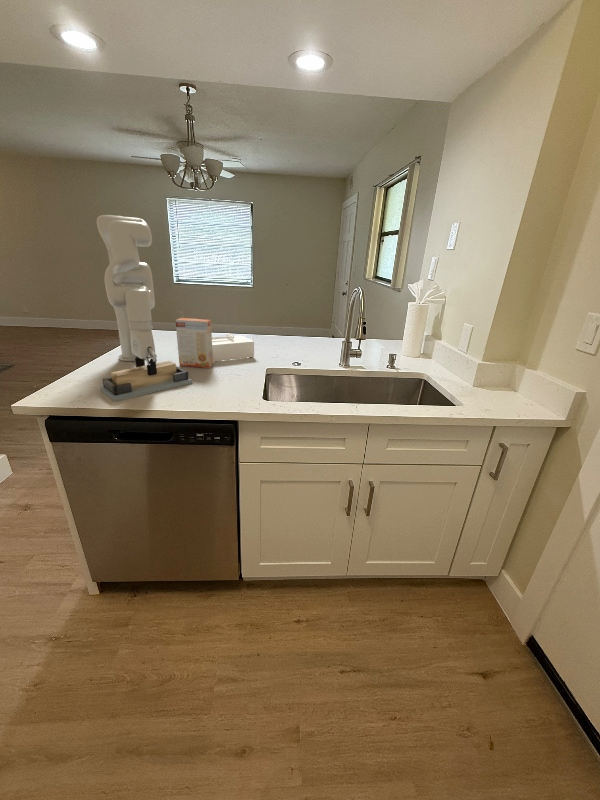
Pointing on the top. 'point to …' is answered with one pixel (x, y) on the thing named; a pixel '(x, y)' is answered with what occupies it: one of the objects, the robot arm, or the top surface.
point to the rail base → (126, 390)
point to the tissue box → (232, 347)
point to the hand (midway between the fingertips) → (146, 371)
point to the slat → (144, 375)
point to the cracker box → (194, 342)
